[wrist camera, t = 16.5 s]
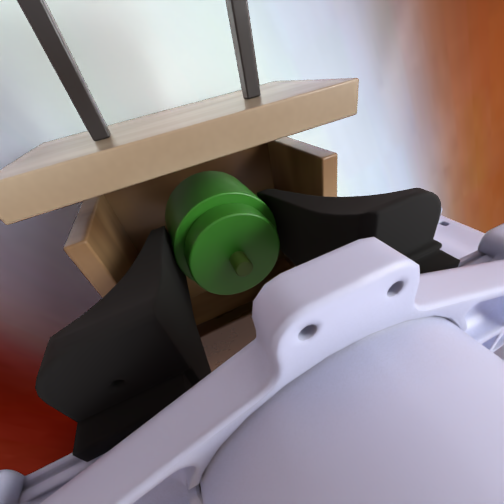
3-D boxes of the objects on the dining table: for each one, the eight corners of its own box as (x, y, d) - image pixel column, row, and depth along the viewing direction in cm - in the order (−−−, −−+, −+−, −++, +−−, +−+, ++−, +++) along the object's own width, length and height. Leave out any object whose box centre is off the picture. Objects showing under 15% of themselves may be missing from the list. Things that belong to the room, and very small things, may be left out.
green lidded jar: (258, 234, 15) (303, 287, 11) (184, 264, 14) (204, 332, 10) (241, 158, 12) (294, 192, 8) (148, 188, 11) (157, 242, 7)
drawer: (-70, -24, 9) (-391, -202, 3) (258, -69, 11) (376, -213, 6) (153, 311, 19) (161, 394, 14) (294, 251, 22) (346, 304, 17)
